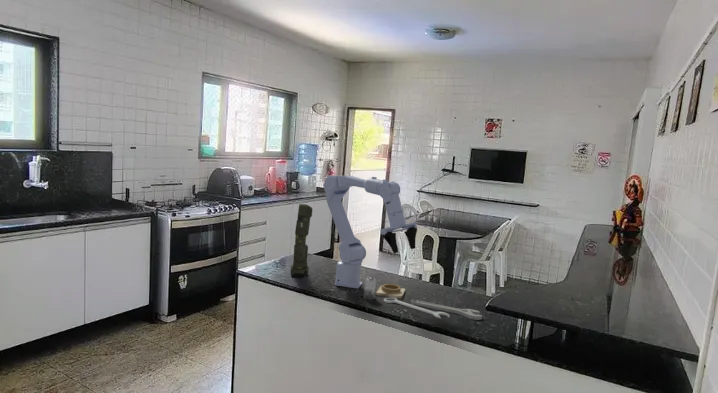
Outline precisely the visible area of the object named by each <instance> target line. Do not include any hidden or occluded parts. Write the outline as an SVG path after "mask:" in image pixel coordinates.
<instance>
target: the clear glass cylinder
mask: <svg viewBox="0 0 718 393" xmlns="http://www.w3.org/2000/svg"><path fill="white" fill-rule="evenodd" d="M376 286H377V279H376V278H374V277H372V276H369V277H365V278H364V288H363V289H364V290H363V299H364V300H369V301H370V300H375V299H376V297H375V296H376Z"/></svg>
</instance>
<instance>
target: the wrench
mask: <svg viewBox="0 0 718 393" xmlns="http://www.w3.org/2000/svg"><path fill="white" fill-rule="evenodd" d="M383 302H385V303H387V304H398V305H401V306H403V307H407V308H409V309H413V310H416V311H419V312H423V313H427V314H429V315H432V316H434V317H435V318H436V319H440V320H442V317H441V316H445V317H448V318H450V314H449V313H447V312H446V311H434V310H430V309H427V308H425V307H422V306H418V305H413V304H411V303H407V302H404V301H400V300H399V299H398V298H392V297H385V298H383Z"/></svg>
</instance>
